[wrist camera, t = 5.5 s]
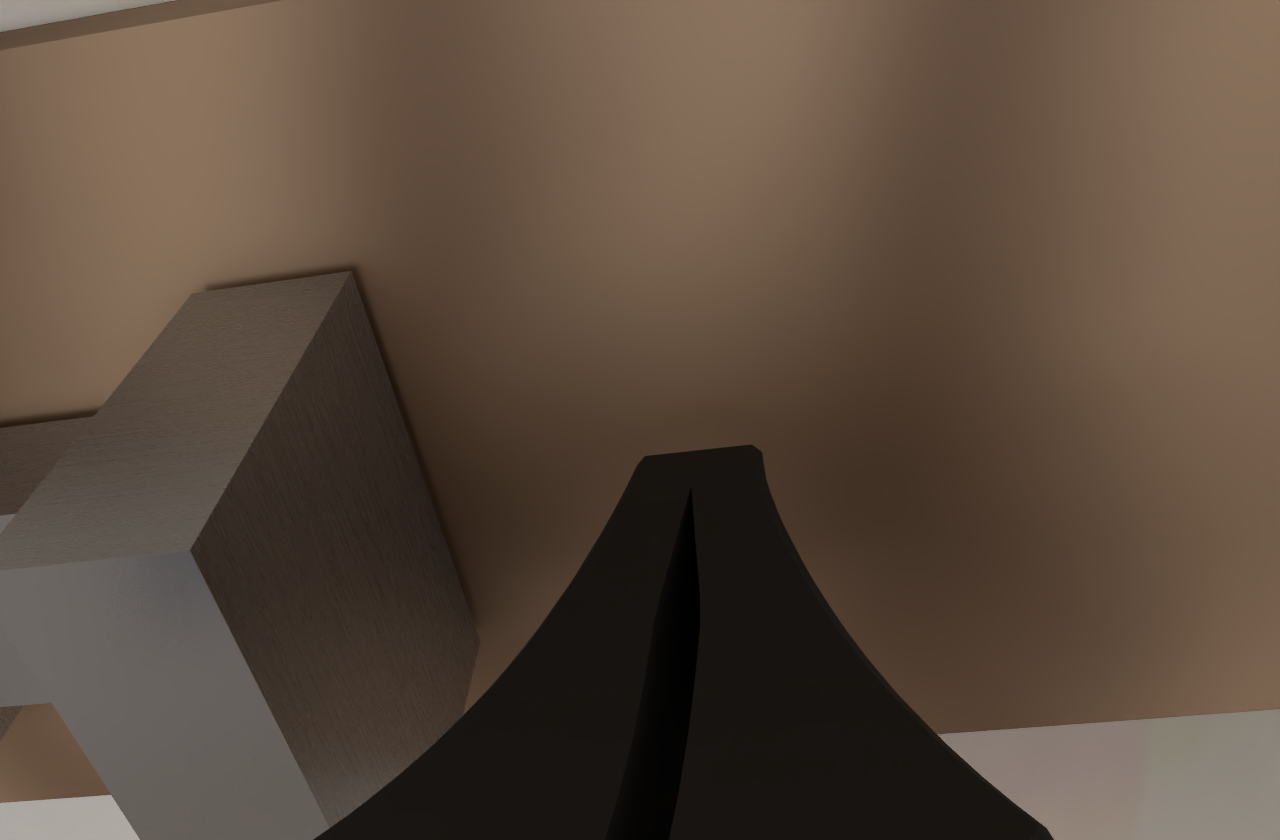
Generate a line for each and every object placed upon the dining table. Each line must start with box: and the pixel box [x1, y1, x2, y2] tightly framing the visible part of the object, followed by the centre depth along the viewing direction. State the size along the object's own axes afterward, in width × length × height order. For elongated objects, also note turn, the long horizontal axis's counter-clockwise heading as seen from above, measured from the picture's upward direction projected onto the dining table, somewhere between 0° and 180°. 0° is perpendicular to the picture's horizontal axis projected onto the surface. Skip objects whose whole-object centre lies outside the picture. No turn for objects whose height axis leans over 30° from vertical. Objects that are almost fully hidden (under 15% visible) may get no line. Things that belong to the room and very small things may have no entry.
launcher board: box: [0, 0, 1280, 803], centre depth 16 cm, size 23×12×1 cm, turn 100°
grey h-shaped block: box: [0, 271, 480, 840], centre depth 14 cm, size 8×6×5 cm
